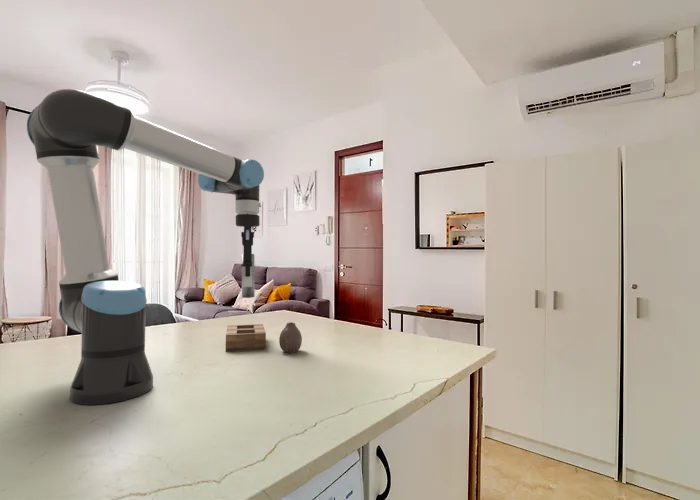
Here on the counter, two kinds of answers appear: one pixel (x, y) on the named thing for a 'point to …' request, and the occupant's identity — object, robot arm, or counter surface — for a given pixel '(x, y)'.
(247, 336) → the bore block
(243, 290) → the steel pin
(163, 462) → the counter surface
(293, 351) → the vase
